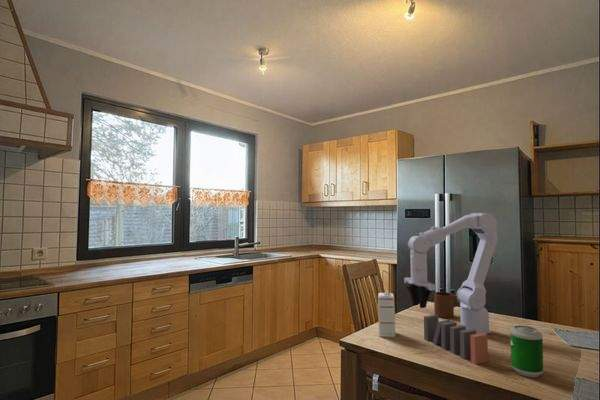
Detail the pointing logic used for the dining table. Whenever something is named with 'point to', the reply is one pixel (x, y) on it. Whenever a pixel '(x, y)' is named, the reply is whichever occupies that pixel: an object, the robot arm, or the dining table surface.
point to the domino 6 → (479, 348)
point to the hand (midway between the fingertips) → (419, 306)
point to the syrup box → (386, 314)
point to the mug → (445, 304)
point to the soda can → (526, 351)
